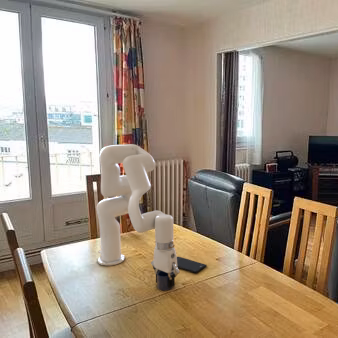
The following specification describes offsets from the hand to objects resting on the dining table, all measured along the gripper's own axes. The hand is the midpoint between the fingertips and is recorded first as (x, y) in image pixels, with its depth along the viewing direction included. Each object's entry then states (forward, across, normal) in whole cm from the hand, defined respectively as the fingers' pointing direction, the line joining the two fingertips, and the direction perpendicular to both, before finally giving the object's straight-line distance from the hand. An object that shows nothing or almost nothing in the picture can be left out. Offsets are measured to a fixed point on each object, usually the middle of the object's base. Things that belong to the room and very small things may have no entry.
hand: (165, 283), depth 139 cm
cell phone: (+1, +6, -20) cm, 21 cm away
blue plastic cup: (+1, 0, 0) cm, 1 cm away
